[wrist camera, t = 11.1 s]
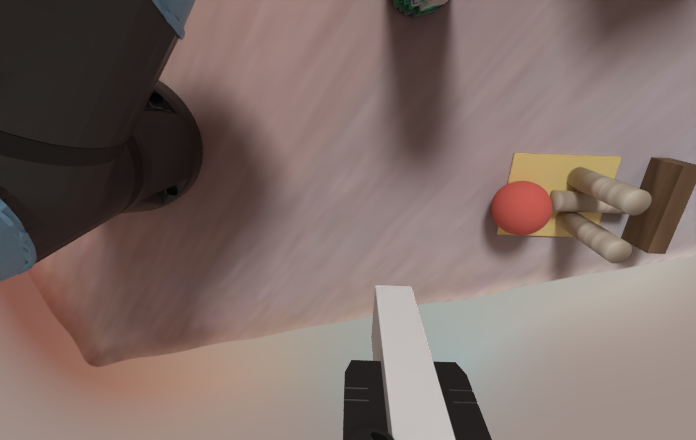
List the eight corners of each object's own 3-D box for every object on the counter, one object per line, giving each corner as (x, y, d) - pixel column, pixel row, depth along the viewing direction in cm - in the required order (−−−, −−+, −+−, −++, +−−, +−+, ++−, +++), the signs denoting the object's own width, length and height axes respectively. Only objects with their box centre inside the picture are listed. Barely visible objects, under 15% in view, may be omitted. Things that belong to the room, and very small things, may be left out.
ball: (545, 231, 39) (492, 217, 42) (562, 182, 37) (504, 170, 40) (538, 251, 35) (479, 233, 38) (557, 196, 32) (492, 182, 35)
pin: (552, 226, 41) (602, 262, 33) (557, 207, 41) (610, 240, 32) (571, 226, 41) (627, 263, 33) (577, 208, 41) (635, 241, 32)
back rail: (621, 237, 42) (647, 253, 38) (651, 157, 38) (683, 166, 34) (637, 238, 42) (665, 253, 38) (669, 158, 38) (703, 166, 34)
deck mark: (496, 233, 42) (496, 234, 42) (513, 153, 38) (514, 153, 38) (593, 236, 42) (594, 237, 42) (620, 156, 38) (621, 156, 38)
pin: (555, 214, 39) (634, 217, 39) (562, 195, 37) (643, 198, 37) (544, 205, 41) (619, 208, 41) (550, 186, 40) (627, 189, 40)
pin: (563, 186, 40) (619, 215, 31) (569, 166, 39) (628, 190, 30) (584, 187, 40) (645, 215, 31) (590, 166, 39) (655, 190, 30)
